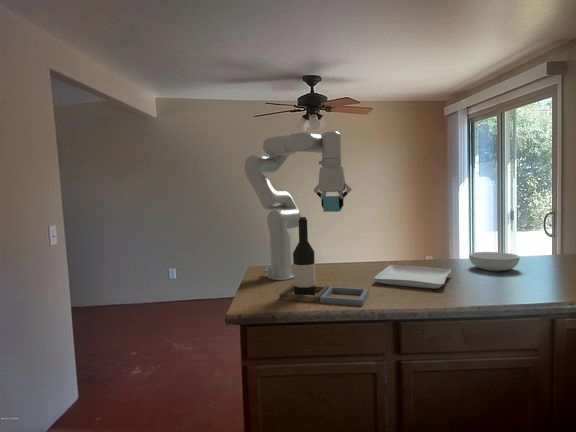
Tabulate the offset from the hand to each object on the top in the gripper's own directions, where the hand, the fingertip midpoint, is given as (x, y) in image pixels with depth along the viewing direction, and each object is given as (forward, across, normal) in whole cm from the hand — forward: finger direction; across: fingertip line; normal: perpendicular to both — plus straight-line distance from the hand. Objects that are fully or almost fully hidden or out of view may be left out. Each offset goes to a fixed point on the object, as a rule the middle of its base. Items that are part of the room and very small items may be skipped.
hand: (332, 208), depth 149 cm
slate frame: (+32, +7, -14) cm, 36 cm away
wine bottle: (+33, -8, -14) cm, 36 cm away
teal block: (+1, 0, 0) cm, 1 cm away
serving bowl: (+33, +65, +49) cm, 88 cm away
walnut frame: (+33, -8, -14) cm, 36 cm away
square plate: (+33, +30, +19) cm, 49 cm away
